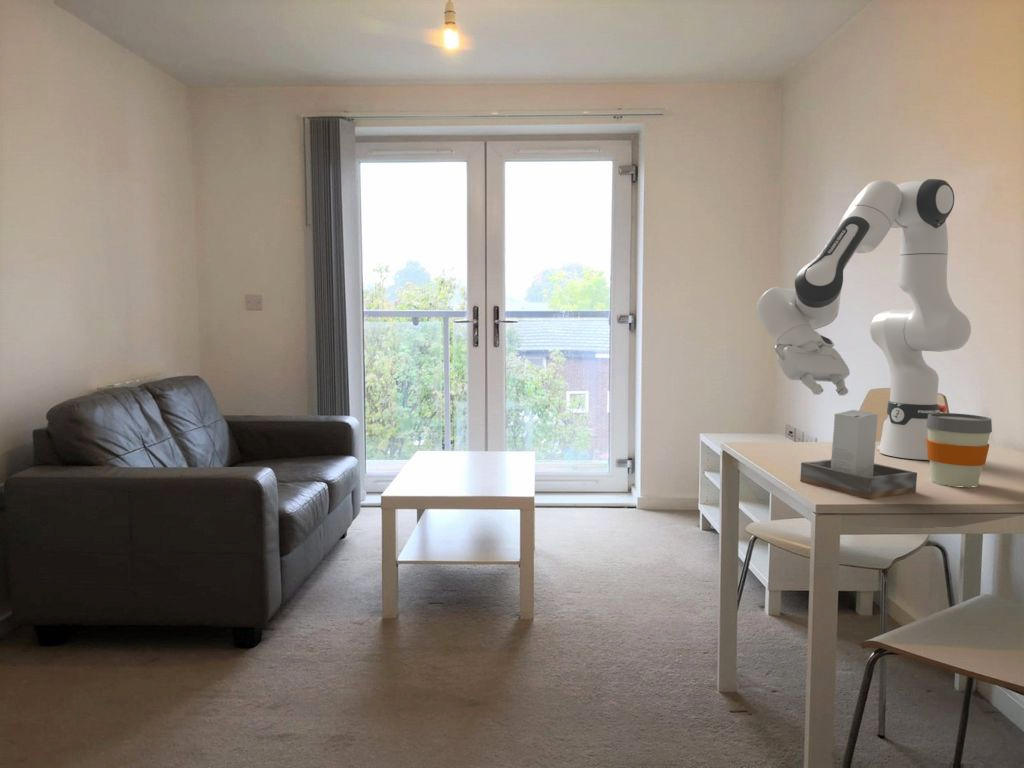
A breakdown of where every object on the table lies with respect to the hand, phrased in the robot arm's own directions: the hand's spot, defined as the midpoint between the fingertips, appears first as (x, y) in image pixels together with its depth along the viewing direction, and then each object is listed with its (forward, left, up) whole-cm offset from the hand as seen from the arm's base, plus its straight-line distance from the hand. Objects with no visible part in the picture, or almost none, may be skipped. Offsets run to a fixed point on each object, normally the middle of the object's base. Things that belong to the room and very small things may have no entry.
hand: (832, 393), depth 164 cm
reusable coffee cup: (-23, +14, -20) cm, 34 cm away
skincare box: (+1, +7, -18) cm, 20 cm away
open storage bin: (+1, +8, -19) cm, 21 cm away
